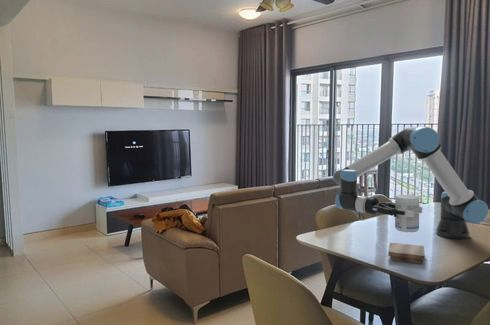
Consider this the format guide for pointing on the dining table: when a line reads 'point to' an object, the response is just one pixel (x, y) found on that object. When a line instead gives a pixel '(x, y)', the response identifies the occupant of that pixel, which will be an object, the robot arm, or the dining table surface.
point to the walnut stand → (406, 252)
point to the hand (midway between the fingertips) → (417, 212)
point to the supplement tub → (402, 221)
